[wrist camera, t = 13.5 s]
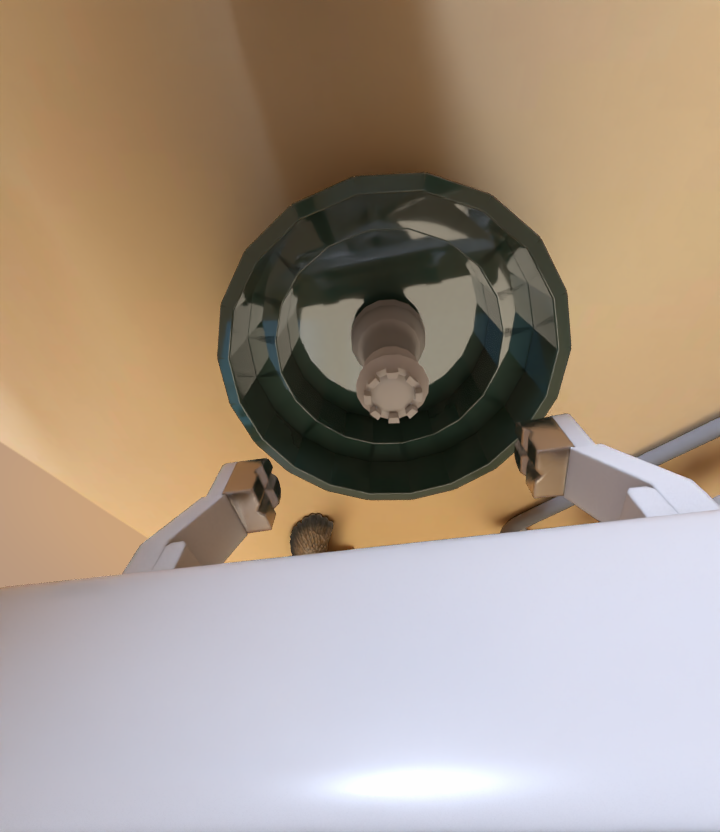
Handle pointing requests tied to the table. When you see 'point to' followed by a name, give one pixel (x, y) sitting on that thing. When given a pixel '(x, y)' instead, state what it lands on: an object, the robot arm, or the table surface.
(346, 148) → the table surface
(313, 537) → the eagle figurine
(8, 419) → the table surface
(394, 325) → the rook chess piece
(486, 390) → the dark green pet bowl
